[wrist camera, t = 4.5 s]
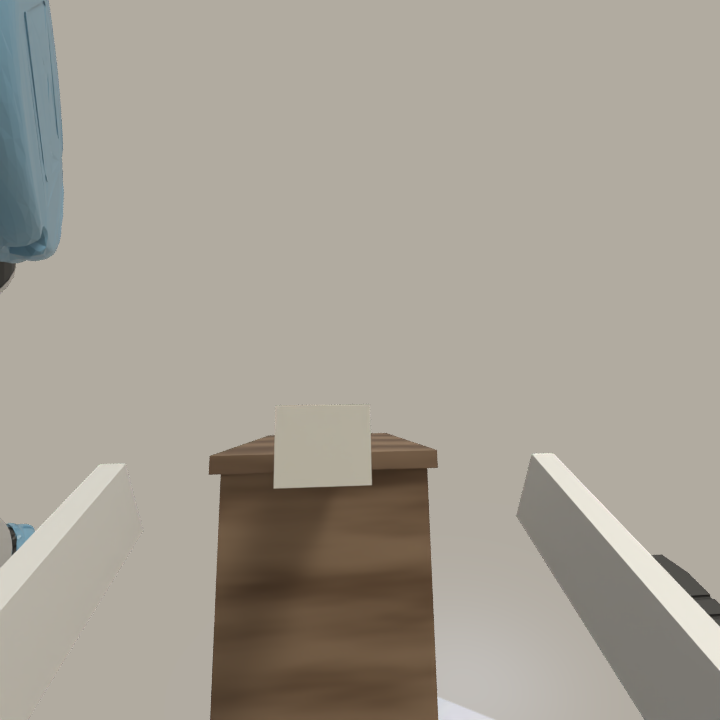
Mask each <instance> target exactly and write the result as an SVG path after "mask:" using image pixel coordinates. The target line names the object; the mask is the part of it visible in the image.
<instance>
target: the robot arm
mask: <svg viewBox="0 0 720 720" xmlns="http://www.w3.org/2000/svg"><path fill="white" fill-rule="evenodd" d="M62 151H63V141H62V120H61V106H60V93H59V81H58V71H57V62H56V53H55V45H54V37H53V28H52V20H51V13H50V7H49V1H48V0H0V293H1V292H3V290H5V289H6V288H7V287H8V285H9V284H10V282H11V280H12V279H13V277H14V273H15V268H16V263H20V262H23V261H26V260H29V261H38V260H43V259H47V258H49V257H50V256H52V255H53V254H54V253H55V251H56V249H57V247H58V244H59V241H60V237H61V225H62V218H63V196H64V192H63V191H64V190H63V171H62ZM517 518H518V520H519V521H520V523H521V524H522V526H523V528H524V529H525V531H526V532H527V534H528V535H529V537H530V539H531V540H532V542H533V543H534V545H535V547H536V548H537V550H538V551H539V553H540V555H541V556H542V558H543V559H544V561H545V562H546V564H547V566H548V567H549V569H550V570H551V572H552V574H553V575H554V577H555V578H556V580H557V582H558V583H559V585H560V586H561V588H562V590H563V591H564V593H565V594H566V596H567V597H568V599H569V601H570V602H571V604H572V605H573V607H574V609H575V610H576V612H577V613H578V615H579V617H580V618H581V620H582V621H583V623H584V624H585V626H586V627H587V629H588V631H589V632H590V634H591V636H592V637H593V639H594V640H595V642H596V643H597V645H598V647H599V648H600V650H601V651H602V653H603V655H604V656H605V658H606V659H607V661H608V663H609V664H610V666H611V667H612V669H613V670H614V672H615V674H616V675H617V677H618V679H619V680H620V682H621V683H622V685H623V686H624V688H625V690H626V691H627V693H628V694H629V696H630V698H631V699H632V701H633V702H634V704H635V706H636V707H637V709H638V710H639V712H640V713H641V715H642V717H643V718H644V720H720V604H719V603H718V602H717V601H716V600H715V599H712V598H711V597H710V594H709V593H708V592H707V591H706V590H705V589H704V588H703V587H702V586H701V585H700V584H699V583H698V582H697V581H696V580H695V579H694V578H692V577H691V575H690V574H689V573H688V572H686V571H685V570H683V569H682V568H680V567H679V566H677V565H676V564H675V563H673V562H672V561H670V560H669V559H667V558H666V557H664V556H663V555H651V554H649V552H648V551H647V550H646V549H645V548H644V547H643V546H642V545H641V544H640V543H639V542H638V541H637V540H636V539H635V538H634V537H633V536H632V535H631V534H630V533H629V532H628V531H627V530H626V528H625V527H624V526H623V525H622V524H621V523H620V522H619V521H618V520H617V519H616V518H615V517H614V516H613V515H612V514H611V513H610V512H609V511H608V510H607V509H606V508H605V507H604V506H603V505H602V503H601V502H600V501H599V500H597V498H596V497H595V496H594V495H593V494H592V493H591V492H590V491H589V490H588V489H587V488H586V487H585V486H584V485H583V484H582V483H581V482H580V481H579V480H578V479H577V478H576V476H575V475H574V474H573V473H572V472H571V471H570V470H569V469H568V468H567V467H566V466H565V465H564V464H563V463H562V462H561V461H560V460H559V459H558V458H557V457H556V456H555V455H554V454H553V453H545V454H544V453H543V454H532V455H531V459H530V463H529V467H528V471H527V475H526V479H525V483H524V487H523V491H522V495H521V499H520V503H519V507H518V511H517ZM142 532H143V527H142V523H141V520H140V515H139V512H138V508H137V504H136V500H135V496H134V493H133V489H132V485H131V481H130V477H129V474H128V470H127V466H126V464H100V465H98V467H97V468H96V469H95V470H94V471H93V472H92V473H91V474H90V475H89V476H88V477H87V478H86V479H85V480H84V481H83V482H82V483H81V484H80V485H79V486H78V488H76V490H75V491H74V492H73V493H72V494H71V495H70V496H69V497H68V498H67V499H66V500H65V501H64V502H63V503H62V504H61V505H60V506H59V507H58V508H57V509H56V510H55V511H54V513H52V515H51V516H50V517H49V518H48V519H47V520H46V521H45V522H44V523H43V524H42V525H41V526H40V527H39V528H38V529H37V530H36V531H34V528H33V526H31V525H29V524H18V525H17V524H14V523H8V524H6V523H5V522H4V521H3V520H2V519H1V518H0V720H28V719H29V718H30V716H31V714H32V713H33V711H34V709H35V708H36V706H37V705H38V703H39V701H40V700H41V698H42V696H43V694H44V693H45V691H46V690H47V688H48V687H49V685H50V683H51V681H52V680H53V678H54V677H55V675H56V673H57V672H58V670H59V668H60V666H61V665H62V664H63V662H64V660H65V659H66V657H67V655H68V654H69V652H70V650H71V649H72V647H73V645H74V644H75V642H76V640H77V639H78V637H79V636H80V634H81V632H82V631H83V629H84V627H85V626H86V624H87V622H88V620H89V619H90V618H91V616H92V614H93V613H94V611H95V609H96V608H97V606H98V604H99V603H100V601H101V600H102V598H103V596H104V595H105V593H106V591H107V590H108V588H109V586H110V585H111V583H112V582H113V580H114V578H115V576H116V575H117V573H118V572H119V570H120V568H121V567H122V565H123V563H124V562H125V560H126V559H127V557H128V555H129V554H130V552H131V550H132V548H133V547H134V545H135V544H136V542H137V540H138V539H139V537H140V536H141V534H142Z"/></svg>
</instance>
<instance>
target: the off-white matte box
mask: <svg viewBox="0 0 720 720" xmlns="http://www.w3.org/2000/svg"><path fill="white" fill-rule="evenodd" d="M364 485H372V471H371V425H370V404H348V405H279V406H277V405H276V406H275V443H274V489H275V488H305V487H334V486H364Z"/></svg>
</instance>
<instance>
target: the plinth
mask: <svg viewBox="0 0 720 720" xmlns="http://www.w3.org/2000/svg"><path fill="white" fill-rule="evenodd" d="M274 443H275V435H274V436H266V437H263V438H260V439H258V440H255V441H252V442H249V443H246V444H243V445H240V446H237V447H234V448H232V449H229V450H226V451H223V452H220V453H217V454H214V455H211V456H210V461H209V474H210V475H212V474H221V482H220V505H219V508H220V509H219V529H218V553H217V576H216V599H215V622H214V646H213V668H212V691H211V716H210V720H438V705H437V684H436V683H437V682H436V660H435V637H434V614H433V592H432V569H431V546H430V523H429V500H428V478H427V468H437V467H438V463H437V450H435V449H432V448H429V447H426V446H423V445H420V444H417V443H414V442H411V441H408V440H405V439H402V438H399V437H396V436H393V435H390V434H387V433H371V471H372V485H364V486H334V487H305V488H275V489H274Z"/></svg>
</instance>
